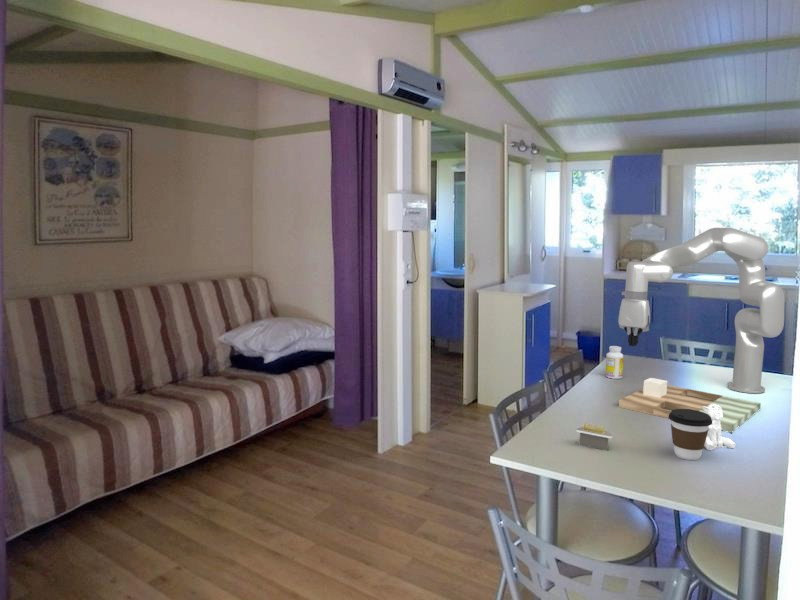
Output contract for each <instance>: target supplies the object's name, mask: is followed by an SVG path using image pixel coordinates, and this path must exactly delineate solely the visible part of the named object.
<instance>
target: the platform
mask: <svg viewBox="0 0 800 600" xmlns="http://www.w3.org/2000/svg"><path fill="white" fill-rule="evenodd" d="M575 431H576V433H579V446H584V447H588V448H593V449H599V450H603V451H607V452H608V450H609V439H612V438H613V434H612V433H611V432H609V431H608V430H606V428H605V426H602V425H597V424H591V423H587V422H585V423H584V424H583V426H582V427H577V428H576V430H575Z"/></svg>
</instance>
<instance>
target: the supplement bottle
mask: <svg viewBox="0 0 800 600" xmlns="http://www.w3.org/2000/svg"><path fill="white" fill-rule="evenodd" d="M608 349H609V351H608V352H607V353H606V357H605V358H606V359H605V377H606V378H607V377H608V379H610V378H612V379H613V380H621V379H622V378H623V374H624V354H623V353H622V347H621V346H617V345H610V346H609V348H608Z"/></svg>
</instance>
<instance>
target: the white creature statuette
mask: <svg viewBox="0 0 800 600" xmlns="http://www.w3.org/2000/svg"><path fill="white" fill-rule="evenodd" d="M702 408H703V410H704V411H706V414H708V415H709V416H710V417H711V419H712V424H711V425H709V427H708V429H709V430H708V434H707V437H706V441H705V445H704V448H705V450H707V451H710V450H711V451H713V450H714V449H717V448H719V447H720V448H721V447H722V448H727V447H730V448H734V449H736V445H737V444H736V442H735V441H733V440H732V439H731V438H728V437H725V436H722V435H723V434H722V431H721V429H722V428H721V424H720V420H721V418H722V417H723V413H722V409H721V407H720V406H719V405H716V404H714V405H709V406H708V407H705V406H703V407H702ZM724 446H726V447H724ZM716 447H717V448H716ZM730 448H729V449H730Z"/></svg>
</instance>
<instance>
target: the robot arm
mask: <svg viewBox="0 0 800 600" xmlns="http://www.w3.org/2000/svg"><path fill="white" fill-rule="evenodd" d="M716 252H724V253H725V254H726V255H727V256H728V257H729V258H731V259H732V260H733V261H734V262H735V263H736V266H737V267H738V275H739V276H738V277H739V278H738V279H739V280H738V282H739V284H738V286H739V287H738V290H739V291H738V296H739V297H738V298H739V299H740V301H741V303H743V304H745V305H748V306H753V307H744V308H742V309H740V310H738V312H737V313H736V314H735V316H734V328H735V349H734V358H733V359H734V360H733V372H732V382H728V383H727V388H728V389H730V390H732V391H734V392H735V391H736V392H739V393H745V394H762V393H761V392H763V393H765V392H766V388H765V387H764V386H762V374H763V363H764V352H765V342H764V338H776V337H778V336H780V334H782V331H783V330H784V325H785V292H784V291H783V288H782V287H781V286H780V285H778V284H777V283H774V282H769V281H766V267H765V262H764V260H763V258H765V257H767V254H768V252H769V244H768V242H767V240H765V239H764V238H763V237H761V236H758V235H755V234H751V233H748V232H746V231H743V230H739V229H736V228H732V227H711V228H709V229H707V230H705V231H703V232H701V233H699V234H698V235H696V236H694V237H693V238H690V239H688V240H686V241H685V242H683V243H681V244H678V245H674V246H672V247H670V248H666V249H663V250H661V251H658V252H656V253H654V254H651V255H649V256H648V257H646V258H644V259H643V260H641V261H629V262H628V263H627V265H626V271H625V272H626V273H625V289H624V291H621V296H624V298H622V299H621V301H620V302H621V303H620V307H619V312H618V318H617V319H618V327H619V328H620V329H623V330H624V331H625V332H626V333H627V337H628V338H627V343H628V346H629V347H636V346H638V344H639V335H640V334H642V333H643V332H649V331H650V323H651V309H650V301H649V300H648V290H649V289H648V286H649V282H653V283H666V282H668V281H670V280H671V278H672V277H673V275H674V269H673V268H677V267H686V266H691V265H695V264H697V263H698V262H700V261H702V260H704V259H705V258H707V257H710V256H711V255H713V254H715V253H716ZM755 307H758V308H755ZM763 337H764V338H763ZM764 391H765V392H764Z"/></svg>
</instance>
